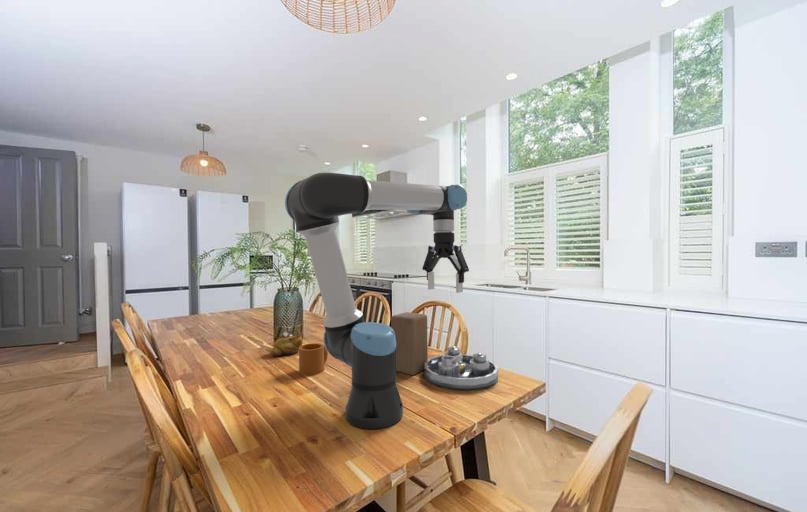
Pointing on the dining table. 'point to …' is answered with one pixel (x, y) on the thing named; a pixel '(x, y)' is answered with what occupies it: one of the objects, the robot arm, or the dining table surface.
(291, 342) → the bread roll
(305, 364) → the mug
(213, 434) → the dining table surface
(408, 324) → the wooden block
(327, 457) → the dining table surface
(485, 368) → the carrier
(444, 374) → the gear
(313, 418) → the dining table surface
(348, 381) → the dining table surface
